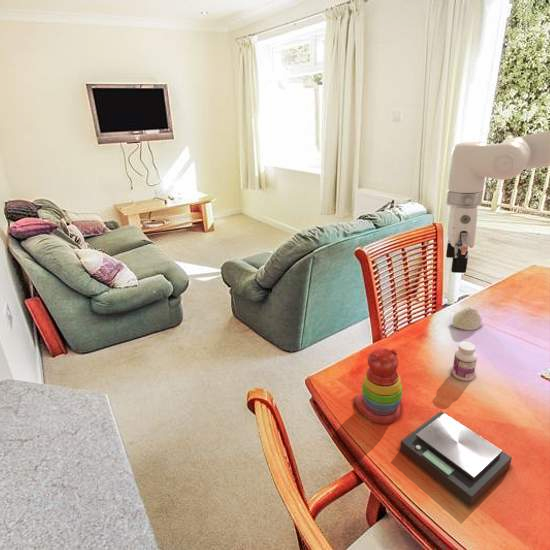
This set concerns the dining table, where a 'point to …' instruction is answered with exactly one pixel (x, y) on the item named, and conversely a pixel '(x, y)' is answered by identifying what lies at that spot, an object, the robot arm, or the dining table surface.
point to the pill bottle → (465, 361)
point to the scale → (452, 468)
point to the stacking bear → (381, 388)
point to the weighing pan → (459, 445)
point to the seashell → (467, 319)
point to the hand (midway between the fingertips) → (455, 264)
